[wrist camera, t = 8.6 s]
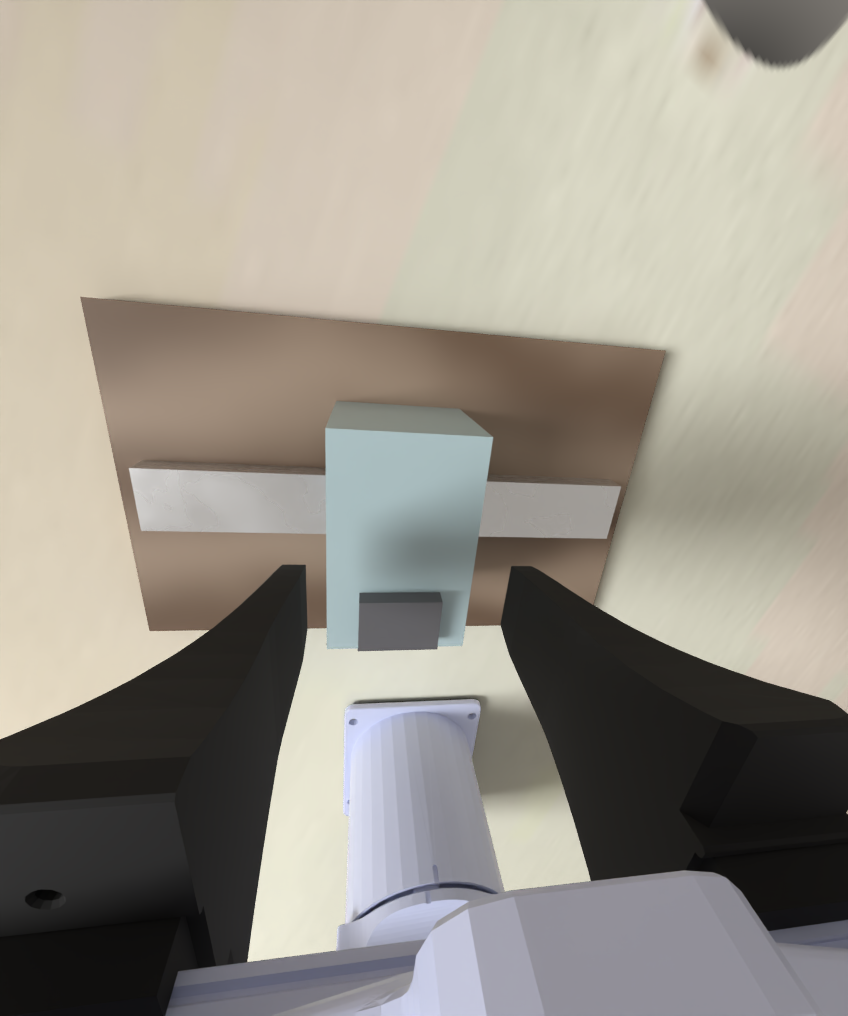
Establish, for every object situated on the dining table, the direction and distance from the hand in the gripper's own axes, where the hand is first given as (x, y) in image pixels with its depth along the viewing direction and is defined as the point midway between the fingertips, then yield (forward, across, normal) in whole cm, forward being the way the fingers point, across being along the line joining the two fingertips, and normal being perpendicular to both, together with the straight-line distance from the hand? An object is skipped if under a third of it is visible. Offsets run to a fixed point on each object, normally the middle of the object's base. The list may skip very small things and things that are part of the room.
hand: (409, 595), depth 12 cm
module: (+7, 0, 0) cm, 7 cm away
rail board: (+8, 0, 0) cm, 8 cm away
